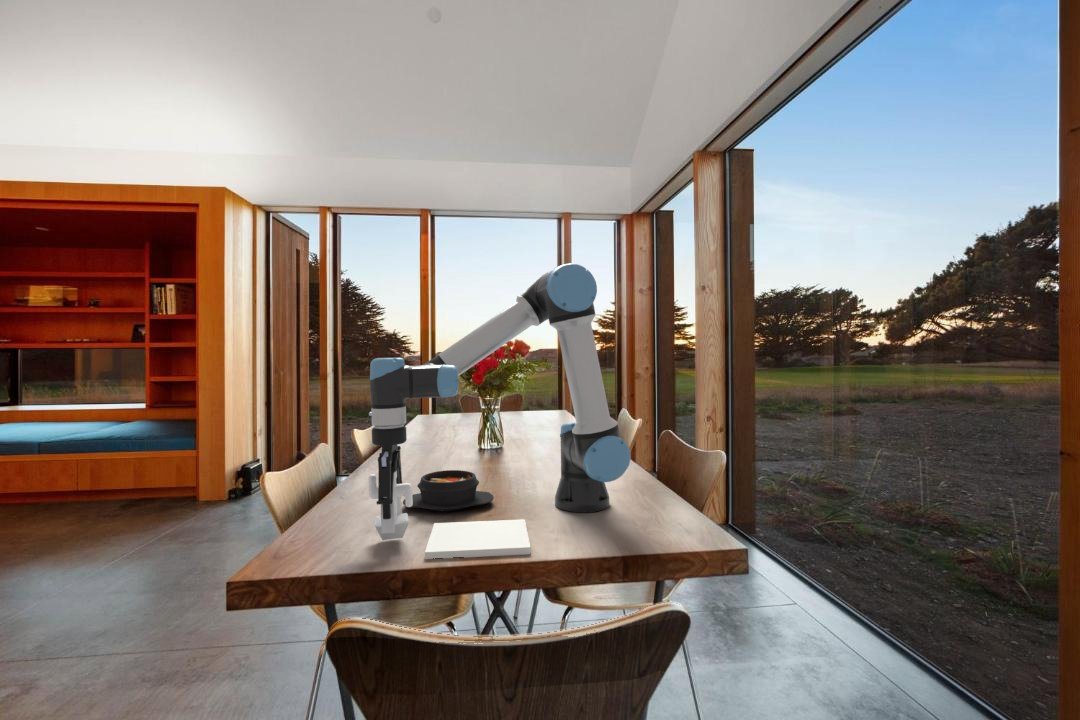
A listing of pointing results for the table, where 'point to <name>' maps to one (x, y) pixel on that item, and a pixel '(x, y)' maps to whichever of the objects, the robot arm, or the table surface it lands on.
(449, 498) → the casserole
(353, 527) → the table surface
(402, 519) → the figurine
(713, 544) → the table surface
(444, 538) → the board
